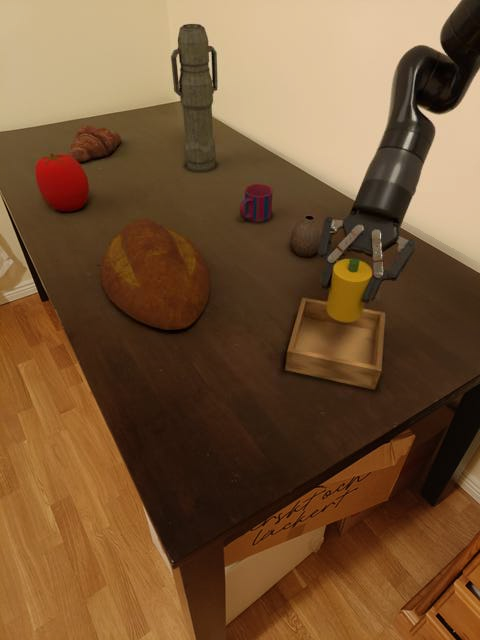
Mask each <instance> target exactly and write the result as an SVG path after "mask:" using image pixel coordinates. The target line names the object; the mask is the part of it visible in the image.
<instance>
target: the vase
mask: <svg viewBox="0 0 480 640" xmlns="http://www.w3.org/2000/svg"><path fill="white" fill-rule="evenodd" d="M322 231H323V227H322V226H321V225H320V223H319V222H318V221H317V219H316V216H315V215H313V214H305V215H303V217H302V218H301V220H300V221H298V222H297V223H296V224H295V225H294V226H293V229H292V231H291V235H290V244H291V248H292V250H293V251H294V253H296V254H297V255H298V256H300V257H302V258H303V257H304V258H309V257H312V256H314V255H315V254H317V253H318V250H319V245H320V240H321V236H322Z"/></svg>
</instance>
